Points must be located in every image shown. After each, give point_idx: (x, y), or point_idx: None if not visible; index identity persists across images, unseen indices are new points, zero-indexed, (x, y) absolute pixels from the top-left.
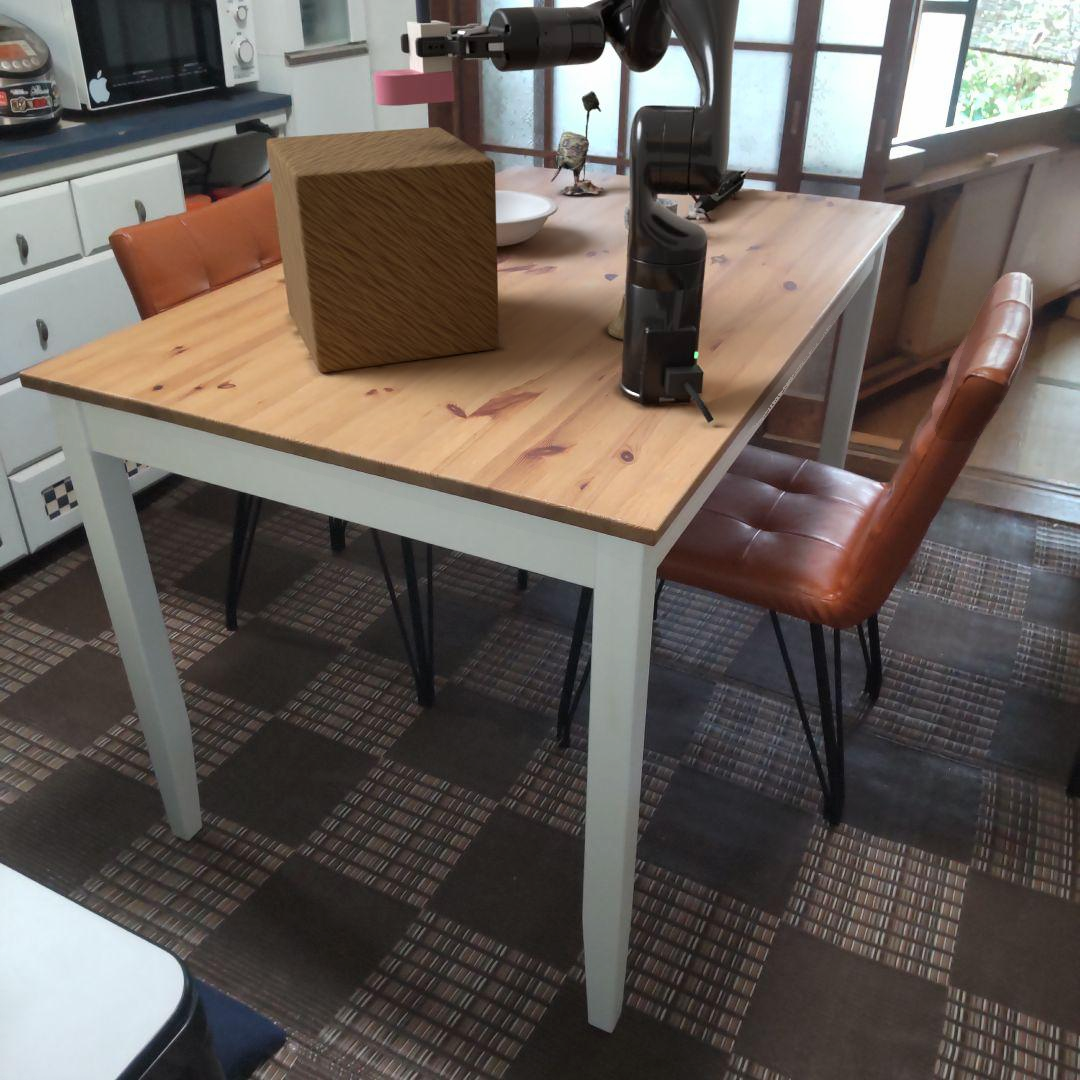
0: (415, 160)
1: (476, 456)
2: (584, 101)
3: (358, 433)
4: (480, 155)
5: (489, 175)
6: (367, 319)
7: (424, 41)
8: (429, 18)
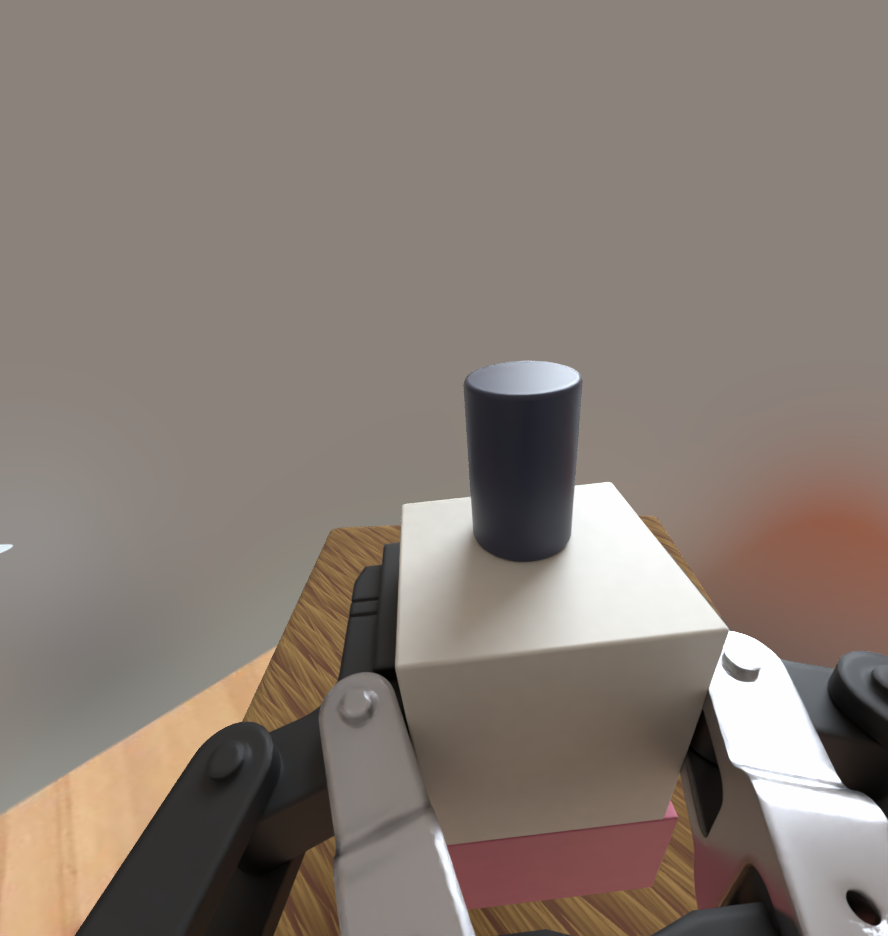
0: (295, 720)
1: (33, 847)
2: None
3: (209, 722)
4: None
5: None
6: None
7: (376, 573)
8: (485, 529)
